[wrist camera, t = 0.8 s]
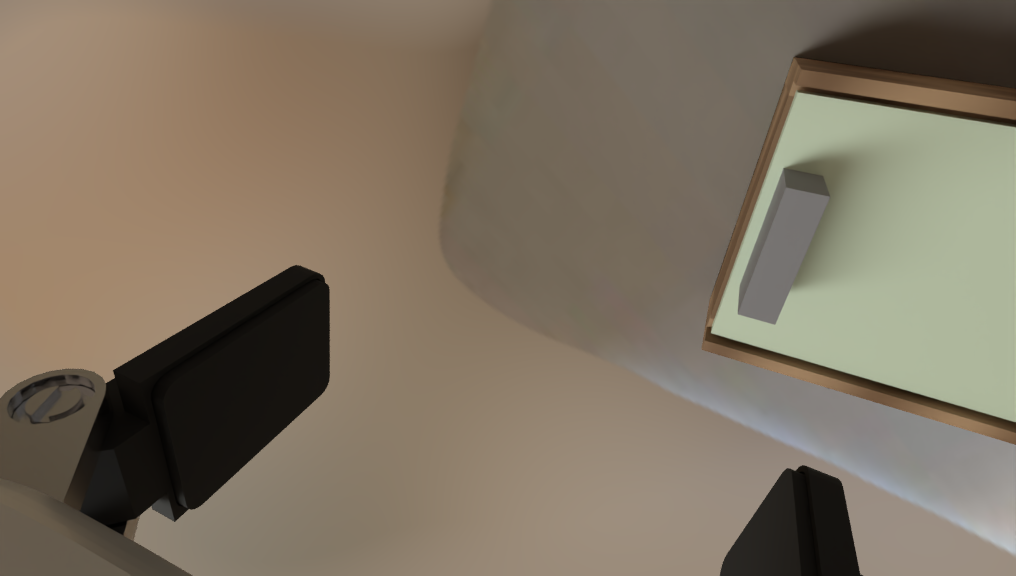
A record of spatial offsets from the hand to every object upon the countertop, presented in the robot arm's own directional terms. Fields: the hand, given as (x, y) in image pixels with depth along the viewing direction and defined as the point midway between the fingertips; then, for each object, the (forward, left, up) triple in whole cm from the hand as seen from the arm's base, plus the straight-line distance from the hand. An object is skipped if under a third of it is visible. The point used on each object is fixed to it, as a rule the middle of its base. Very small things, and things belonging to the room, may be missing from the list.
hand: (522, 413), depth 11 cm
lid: (-13, +2, -19) cm, 23 cm away
